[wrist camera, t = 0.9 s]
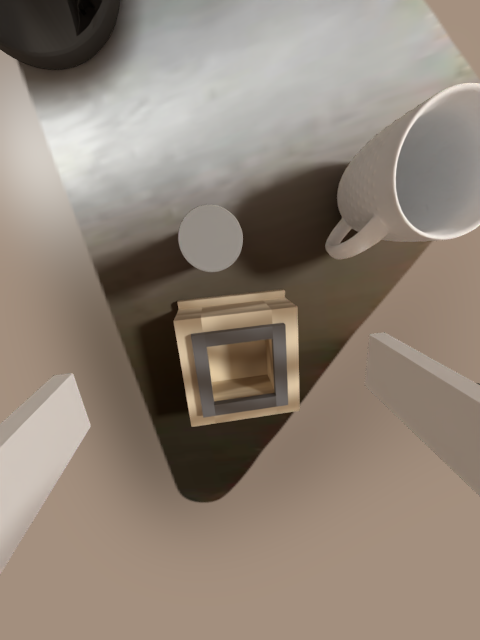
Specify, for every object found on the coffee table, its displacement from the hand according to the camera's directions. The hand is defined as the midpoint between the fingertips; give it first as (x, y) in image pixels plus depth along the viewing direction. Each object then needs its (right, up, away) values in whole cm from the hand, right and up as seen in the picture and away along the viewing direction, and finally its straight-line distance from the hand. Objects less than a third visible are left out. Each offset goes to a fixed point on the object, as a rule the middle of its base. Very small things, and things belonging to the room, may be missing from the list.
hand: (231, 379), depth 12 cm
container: (-3, +13, +20) cm, 24 cm away
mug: (+15, +18, +21) cm, 31 cm away
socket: (0, -2, +25) cm, 25 cm away
